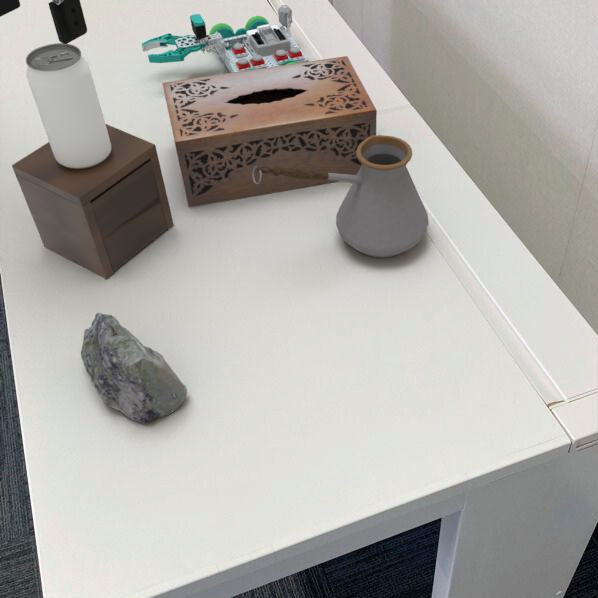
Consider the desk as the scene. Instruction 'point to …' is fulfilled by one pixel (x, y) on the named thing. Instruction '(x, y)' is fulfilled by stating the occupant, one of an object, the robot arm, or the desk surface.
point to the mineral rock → (129, 372)
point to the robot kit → (235, 43)
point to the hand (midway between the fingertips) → (39, 24)
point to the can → (68, 105)
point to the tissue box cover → (267, 127)
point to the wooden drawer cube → (97, 202)
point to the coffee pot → (374, 198)
